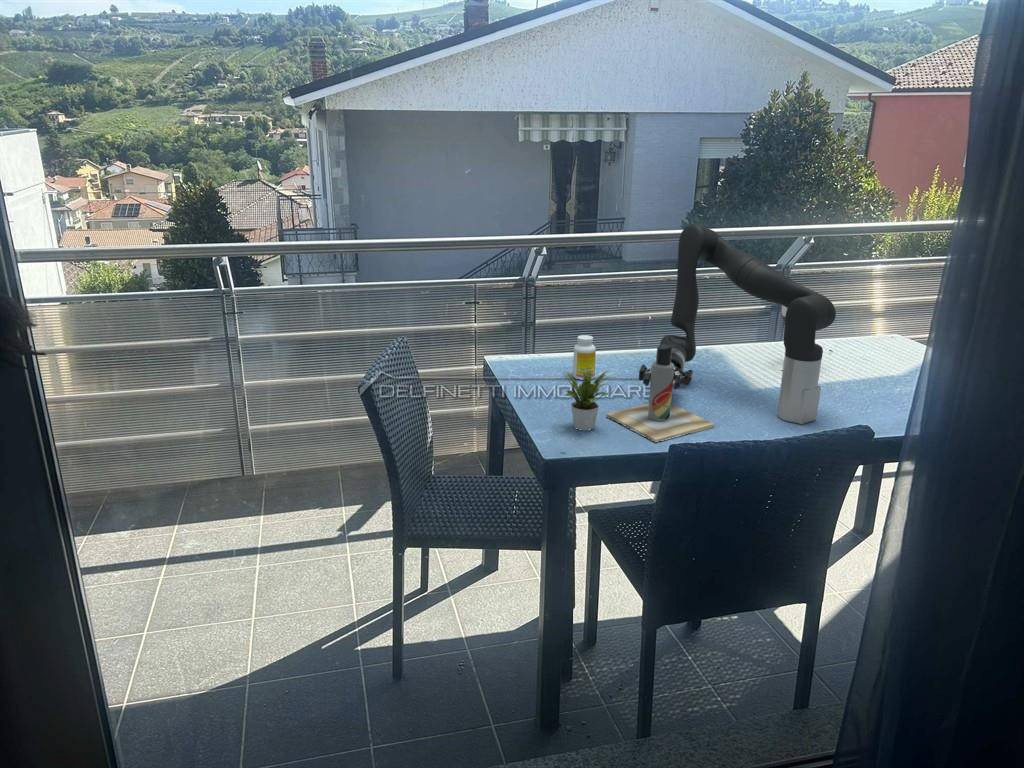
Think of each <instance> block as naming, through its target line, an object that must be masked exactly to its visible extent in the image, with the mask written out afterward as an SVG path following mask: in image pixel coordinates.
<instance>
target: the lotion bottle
mask: <svg viewBox="0 0 1024 768" xmlns="http://www.w3.org/2000/svg"><path fill="white" fill-rule="evenodd" d="M671 355H672V348H671V346H670V345H660V344H659V346H657V347H656V358H655V361H653V362H652V364H651V367H652V371H651V381H650V383H649V399H648V403H649V409H648V417H649V419H651V420H653V421H659V422H663V421H667V420H669V418H670V409H671V404H672V396H673V388H674V384H673V376H674V364H673V363H671Z"/></svg>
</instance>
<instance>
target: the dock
mask: <svg viewBox="0 0 1024 768" xmlns="http://www.w3.org/2000/svg"><path fill="white" fill-rule="evenodd" d="M648 409H649V402H648V403H646V404H645V403H644V404H640V405H636V406H632V407H629V408H623V409H620V410H615V411H611V412H608V413H606V414H605V417H606V416H607V417H609V418H611V419H613V420H615V421H617V422H619V423H621V424H623V425H626V426H627V427H629V428H631V429H633V430H635V431H636V432H638V433H640V434H642V435H644V436H646V437H647V438H649V439H651V440H653V441H655V442H657V441H661V440H665V439H668V438H672V437H675V436H678V435H683V434H688V433H692V434H695V433H699V432H702V431H706V430H709V429H713V428H715V423H714V422H711V421H709V420H707V419H705V418H703V417H701V416H699V415H696V414H694V413H693V412H690V411H688V410H685V409H683V408H681V407H678V406H676V405H674V404H672V403H671V409H670V418H669V420H667V421H663V422H659V421H653V420H651V419H649V417H648ZM607 417H606V418H607ZM609 418H608V419H609ZM611 419H610V420H611ZM613 420H612V421H613ZM694 432H695V433H694ZM688 435H689V434H688ZM647 438H646V439H647Z"/></svg>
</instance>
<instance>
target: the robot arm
mask: <svg viewBox="0 0 1024 768" xmlns="http://www.w3.org/2000/svg"><path fill="white" fill-rule="evenodd" d="M677 252H678V253H677V254H678V255H677V271H676V272H677V276H676V278H677V279H676V289H675V296H674V303H673V307H672V313H671V319H670V324H671V325H672V326H673V327H675V328H676V329H679V330H682V331H683V332H684V333H685V336H680V335H674V334H673V335H672V334H666V335H664V336H663V337H662V338H661V339H660V342H659V346H660V345H670V346H671V348H672V355H671V363H673V364H674V376H673V389H674V390H678V389H679V388H681V386H682V385H684V386H685V387H687V386H690V384H691V382H692V380H693V370H692V369H687V370H686V371H684V369H685V365H686V362H690V361H692V360H693V359H694V358H695V356H696V352H697V346H696V345H697V344H696V337H695V336H696V334H695V327H696V320H697V314H698V309H699V303H700V301H699V300H700V297H699V295H700V294H699V289H698V288H699V287H698V282H697V268H698V267H697V265H698V261H699V260H701V261H703V262H706V263H708V264H710V265H713V266H714V267H715V268H717V269H720V270H721V271H722V272H723V273H724V274H725V275H726V277H727V278H728V280H730V281H731V283H733V284H734V285H735V286H736V287H738V288H739V289H741V290H742V291H744V292H745V293H747V294H748V295H750V296H752V297H754V298H757V299H759V300H764V301H767V302H770V303H774V304H777V305H781V306H782V305H783V306H785V307H787V311H786V316H785V322H784V330H783V344H784V345H783V346H784V348H785V352H784V359H783V364H784V365H783V371H781V372H782V374H781V382H780V387H779V388H780V389H779V395H778V396H779V397H778V405H777V413H776V416H777V417H778V418H779V419H781V420H783V421H785V422H790V423H796V424H798V425H799V424H800V425H804V424H807V423H810V422H811V423H812V422H814V421H817V416H818V409H819V404H820V396H821V390H822V389H821V388H822V387H821V386H820V385H819V379H820V373H821V372H820V371H821V366H822V360H823V353H824V349H823V347H822V346H821V345H820V344H819V343H818V344H817V343H816V333H817V331H821V330H823V329H826V328H828V327H830V326H831V325H833V323H834V322H835V319H836V317H837V311H836V308H835V306H834V304H833V302H832V301H831V300H830V299H829V298H828V297H826V296H825V295H824V294H821V293H819V292H817V291H814V290H812V289H810V288H809V287H806V286H804V285H802V284H800V283H798V282H796V281H794V280H793V279H791V278H789V277H788V276H786V275H785V274H784V273H782V272H781V271H778V270H777V269H775V268H773V267H772V266H771V265H769V264H768V263H766V262H764V261H762V260H761V259H759V258H758V257H755V256H753V255H752V254H751V253H748V252H746V251H744V250H741V249H738V248H737V247H735V246H733V245H732V244H731V243H729V242H728V241H727V240H725V239H724V238H723V237H722V236H721V235H720V234H718V233H717V232H716V231H714V230H713V229H710V228H709V227H706V226H704V225H700V224H696V223H693V224H688V225H687V226H686V227H684V228H683V229H682V231H681V233H680V235H679V240H678V249H677ZM650 367H651V368H649V367H647V365H646V364H641V366H640V368H639V370H638V380H639V381H642V384H643V385H644V386H645V387H648V386H650V383H651V371H652V366H650Z"/></svg>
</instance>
